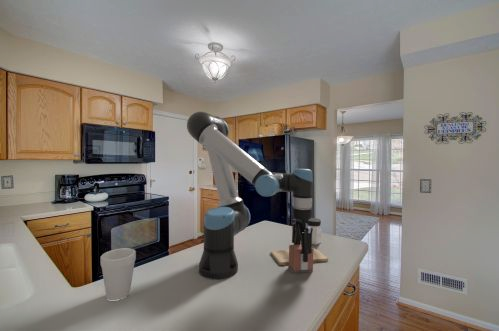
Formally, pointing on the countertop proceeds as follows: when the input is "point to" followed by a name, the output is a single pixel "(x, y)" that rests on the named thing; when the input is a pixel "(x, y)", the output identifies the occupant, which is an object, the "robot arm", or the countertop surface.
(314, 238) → the jar
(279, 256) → the board
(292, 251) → the block
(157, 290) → the countertop surface
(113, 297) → the foam cup
